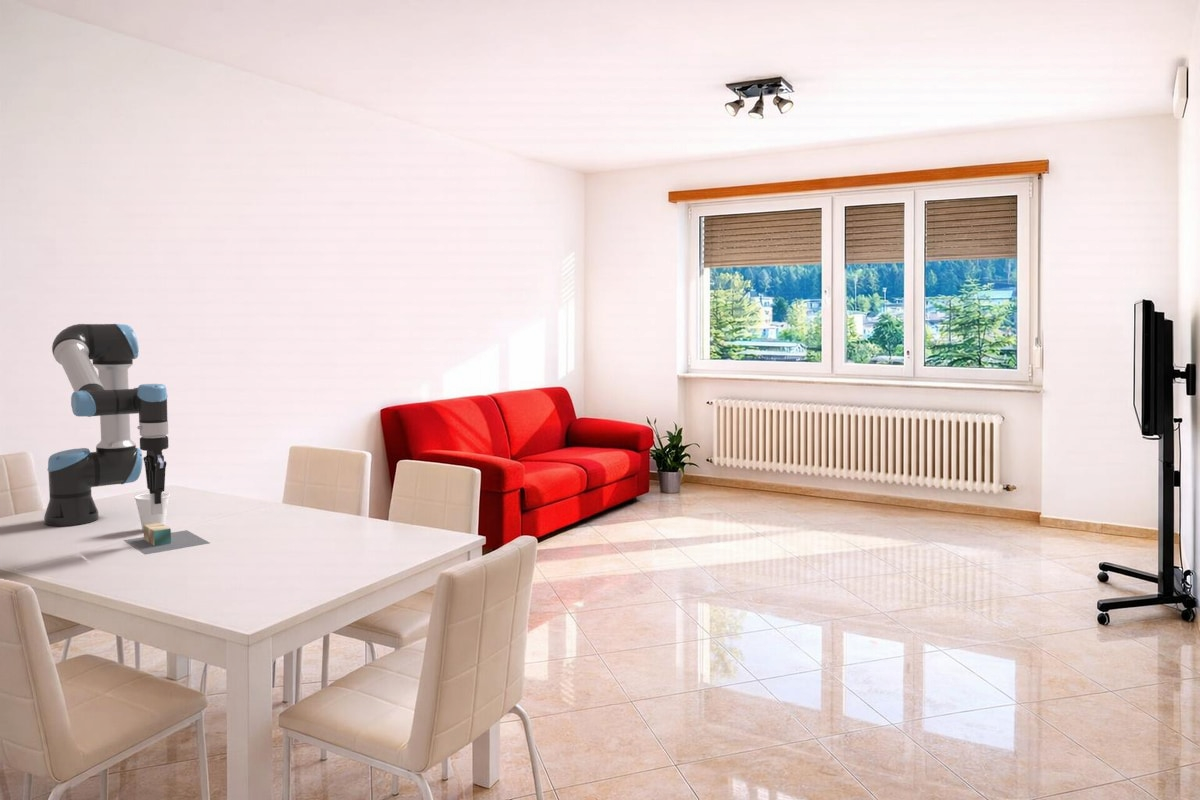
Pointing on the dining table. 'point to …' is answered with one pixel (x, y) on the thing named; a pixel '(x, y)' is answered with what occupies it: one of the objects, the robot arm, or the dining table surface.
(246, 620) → the dining table surface
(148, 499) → the cup
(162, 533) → the beech block
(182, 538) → the mat
